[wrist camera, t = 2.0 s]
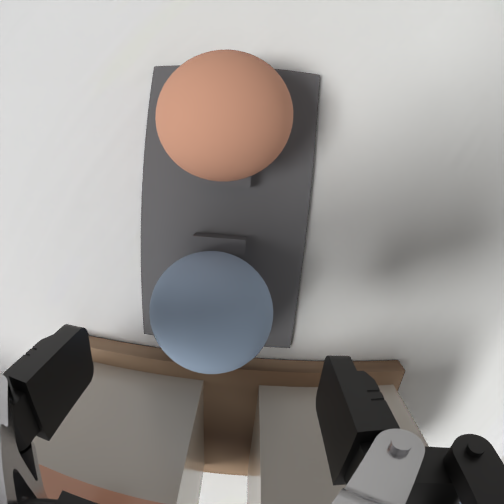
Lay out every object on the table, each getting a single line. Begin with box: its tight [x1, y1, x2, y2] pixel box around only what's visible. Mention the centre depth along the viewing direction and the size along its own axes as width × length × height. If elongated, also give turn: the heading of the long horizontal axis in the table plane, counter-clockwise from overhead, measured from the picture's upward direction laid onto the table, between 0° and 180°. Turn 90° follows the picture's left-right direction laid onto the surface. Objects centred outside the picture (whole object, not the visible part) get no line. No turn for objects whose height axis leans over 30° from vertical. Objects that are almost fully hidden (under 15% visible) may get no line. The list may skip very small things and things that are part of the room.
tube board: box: [89, 336, 405, 476], centre depth 18 cm, size 10×20×1 cm, turn 85°
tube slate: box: [247, 385, 461, 504], centre depth 12 cm, size 8×8×10 cm
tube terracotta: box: [33, 362, 204, 504], centre depth 12 cm, size 8×8×10 cm
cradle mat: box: [141, 66, 320, 348], centre depth 14 cm, size 14×8×1 cm, turn 175°
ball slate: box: [149, 251, 273, 374], centre depth 13 cm, size 5×5×5 cm
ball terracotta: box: [155, 50, 293, 181], centre depth 11 cm, size 5×5×5 cm
